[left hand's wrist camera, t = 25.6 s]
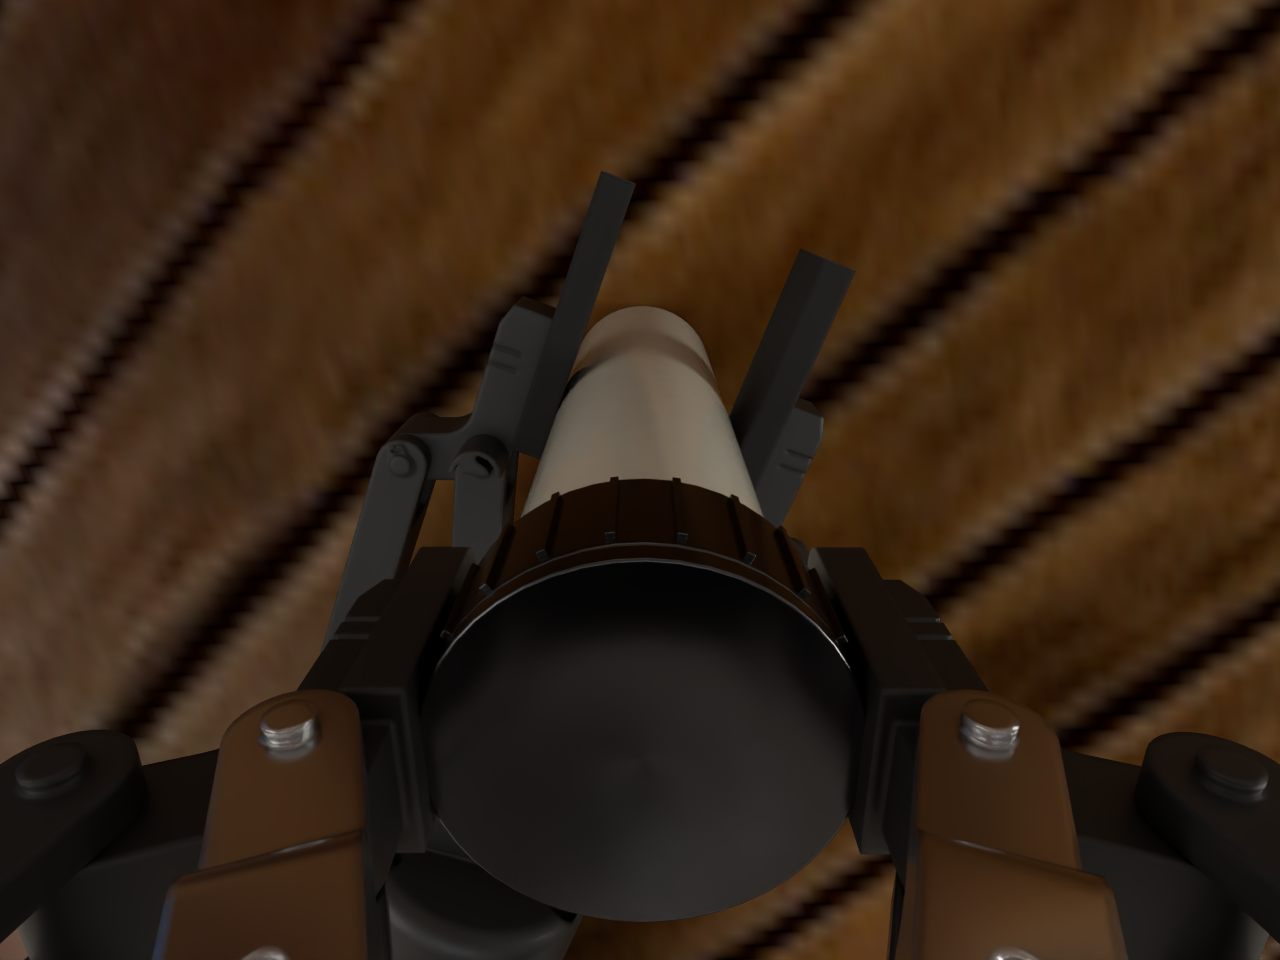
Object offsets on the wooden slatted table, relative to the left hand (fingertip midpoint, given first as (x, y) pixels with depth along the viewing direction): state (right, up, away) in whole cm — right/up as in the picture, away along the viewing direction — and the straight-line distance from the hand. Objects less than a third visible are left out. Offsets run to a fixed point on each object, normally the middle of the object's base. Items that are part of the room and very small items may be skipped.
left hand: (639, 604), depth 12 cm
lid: (0, -1, -3) cm, 3 cm away
